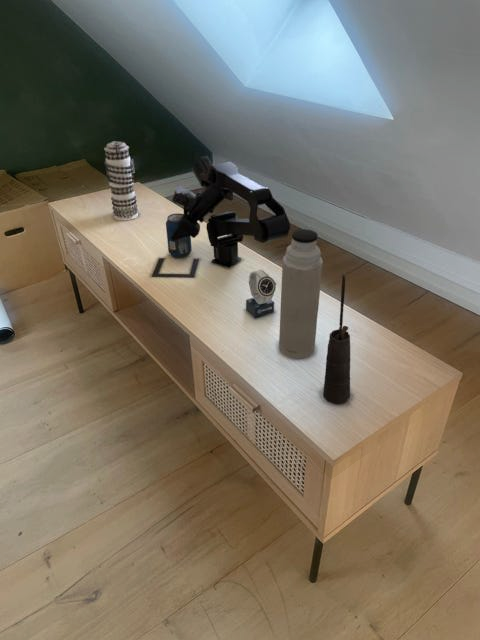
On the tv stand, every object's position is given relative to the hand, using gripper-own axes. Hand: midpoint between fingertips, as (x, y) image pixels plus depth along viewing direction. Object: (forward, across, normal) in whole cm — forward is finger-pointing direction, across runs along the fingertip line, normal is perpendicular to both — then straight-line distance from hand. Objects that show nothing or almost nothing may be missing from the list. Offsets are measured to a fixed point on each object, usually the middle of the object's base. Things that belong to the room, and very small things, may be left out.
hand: (174, 234), depth 148 cm
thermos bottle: (-20, +45, +29) cm, 57 cm away
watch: (-14, +30, +23) cm, 41 cm away
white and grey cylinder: (+21, -29, -11) cm, 38 cm away
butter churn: (-25, +59, +35) cm, 73 cm away
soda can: (+4, 0, +6) cm, 7 cm away
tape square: (+4, +8, +6) cm, 10 cm away
